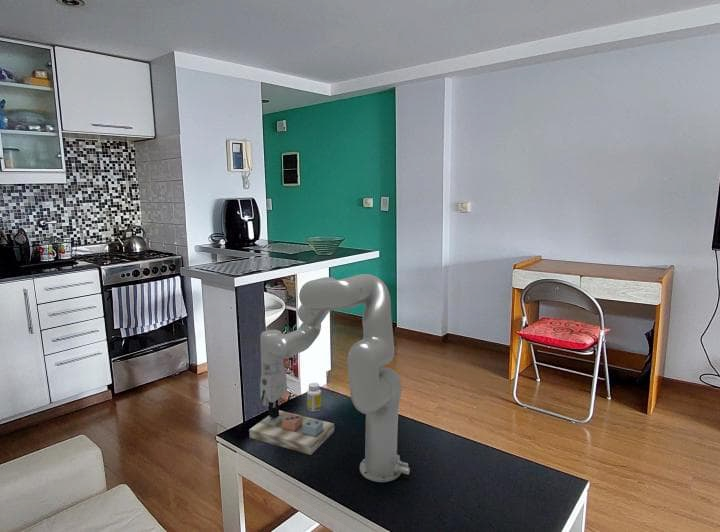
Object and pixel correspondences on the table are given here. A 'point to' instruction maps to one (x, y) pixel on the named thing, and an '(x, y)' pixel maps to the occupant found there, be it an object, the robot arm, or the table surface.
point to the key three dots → (292, 422)
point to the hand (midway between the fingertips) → (274, 416)
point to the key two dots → (312, 427)
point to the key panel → (291, 435)
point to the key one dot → (272, 421)
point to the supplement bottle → (314, 397)
